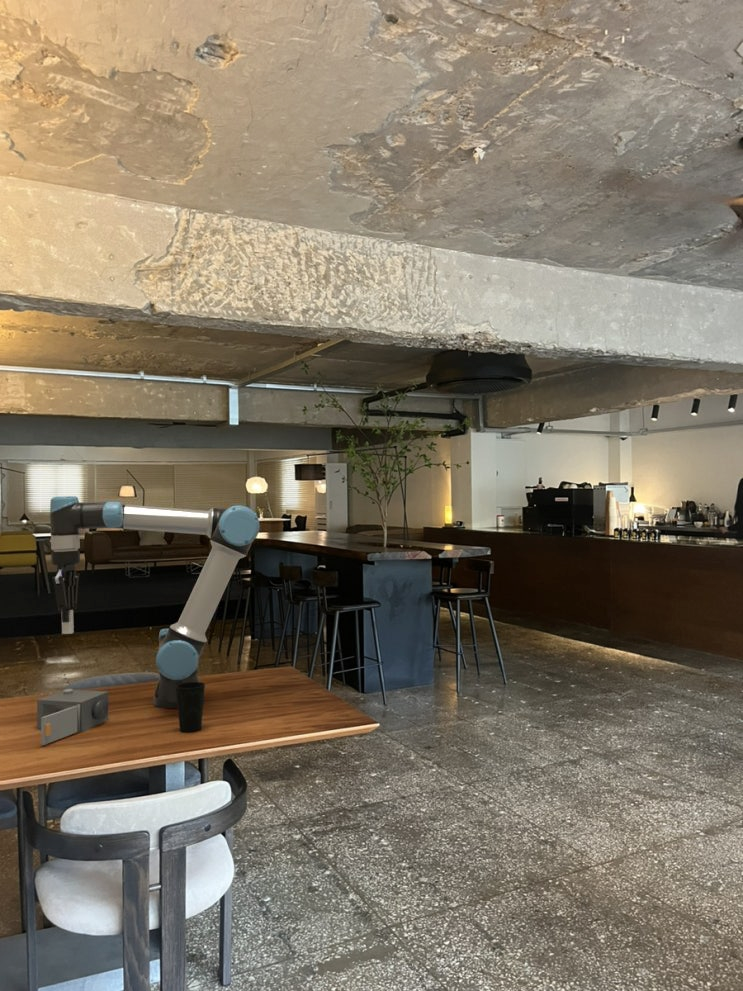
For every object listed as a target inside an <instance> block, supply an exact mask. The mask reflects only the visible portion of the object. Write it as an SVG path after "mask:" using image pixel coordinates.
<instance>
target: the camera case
mask: <svg viewBox="0 0 743 991" xmlns="http://www.w3.org/2000/svg"><path fill="white" fill-rule="evenodd" d="M36 701H37V703H36V706H37V707H36V710H37V711H36V717H37V718H36V720H37V721H36V725H37V726H36V729H37V730H41V717H44V716H47V715H50V714H53V713H56V712H59V711H62V710H65V709H68V708H71V707H74V706H77V732H76V733H83V732H85V731H88V730H91V728H94V727H96V726H98V725H101V724H102V723H105V722H107V721H109V691H104V690H103V691H101V690H100V691H99V690H85V689H83V690H80V689H73V688H65V689H62V690H61V691H58V692H54V693H52V694H49V695H47V696H43V697H42V698H39V699H36Z"/></svg>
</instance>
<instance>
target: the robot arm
mask: <svg viewBox="0 0 743 991" xmlns="http://www.w3.org/2000/svg"><path fill="white" fill-rule="evenodd" d="M49 506H50V507H49V520H50V522H49V524H50V539H49V542H50V545H51V546H50V548H51V549H50V550H52V551H51V553H50V556H51V557H50V558H51V561H50V562H51V565H53V566H57V567H56V576H52V578H51V579H52V583H53V586H54V587H53V588H54V594H55V599H56V600H55V601H56V608H57V612H61V635H71V634H74V632H75V631H74V628H75V626H74V624H75V623H74V610H77V609H78V607H77V604H78V591H79V589H78V588H79V578H80V572H77V571H76V565H78V564H80V563H81V553H80V552H81V551H80V550H78V549H80V548H81V546H80V545H81V543H80V530H81V529H82V530H85V529H121V530H135V531H148V532H149V531H150V532H165V533H179V534H189V535H190V534H193V535H203V536H205V535H206V536H207V537H208V538H209V539H210V540H209V542H210V545H211V550H210V552H209V555H208V557H207V558H206V560H205V563H204V565H203V567H202V569H201V571H200V574H199V576H198V578H197V581H196V583H195V584H194V586H193V588H192V591H191V593H190V595H189V597H188V600H187V601H186V604H185V606H184V607H183V610H182V612H181V614H180V617H179V618H178V621H177V622H175V623H173V624H171V625H170V626H169V628H161V629H160V631H159V634H158V635H159V636H158V642H159V643H158V651H157V653H156V655H155V664H156V667H157V669H158V671H159V672H158V673H159V674H158V675H159V679H158V682H157V685H156V689H155V691H154V695H153V705H154V706H156V707H158V708H165V709H166V708H167V709H178V705H177V695H176V685H178V684H181V683H186V682H201V680H200V679H199V661H200V660H199V659H200V657H201V655H202V653H203V650H204V648H205V646H206V644H207V642H208V639H207V637H206V632H207V629H208V627H209V626H210V623H211V621H212V619H213V617H214V614H215V612H216V610H217V608H218V605H219V604H220V601H221V599H222V597H223V594H224V592H225V590H226V588H227V587H228V583H230V582H229V581H230V580H231V578H232V576H233V573H234V571H235V569H236V566H237V565H238V563H239V560H240V559H243V558H245V557H247V555H248V553H249V551H250V548H251V546H252V543H253V542H254V540H255V539H256V538H257V537H258V535H259V532H260V527H261V525H260V520H259V517H258V515H257V514H256V512H255V511H254V510H253V509H251V508H250V507H249V506H245V505H237V504H236V505H234V506H230V507H223V508H222V507H221V508H219V507H218V508H217V507H211V508H210V509H209V510H199V509H189V508H176V507H175V508H174V507H164V506H163V507H162V506H161V507H160V506H149V505H136V504H135V505H134V504H122V503H121V502H120V501H99V502H98V501H97V502H80V501H79V498H78V497H77V496H76V495H74V496H73V495H72V496H71V495H68V496H67V495H63V496H62V495H61V496H53V497H52V498H51V499H50V505H49Z"/></svg>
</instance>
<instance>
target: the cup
mask: <svg viewBox="0 0 743 991" xmlns="http://www.w3.org/2000/svg"><path fill="white" fill-rule="evenodd" d="M205 684H206V683H204V682H201V681H200V682H186V683H181V684H178V685H176V695H177V705H178V708H177V713H178V723H179V732H181V733H186V734H190V733H191V734H192V733H197V732H199V731H201V730H202V722H203V714H204V713H203V712H204V711H203V709H204V701H205V688H206V685H205Z"/></svg>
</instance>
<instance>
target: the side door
mask: <svg viewBox="0 0 743 991" xmlns="http://www.w3.org/2000/svg"><path fill="white" fill-rule="evenodd" d="M40 732H41V734H40V736H41V737H40V738H41V739H40V740H41V742H40V743H41V744H40V745H41V746H45V745H47V744H49V743H53V742H55V741H57V740H60V739H62V738H65V737H68V736H71V735H72V734H75V733H78V732H77V706H74V707H71V708H68V709H65V710H62V711H59V712H56V713H53V714H50V715H47V716H44V717H41V729H40Z"/></svg>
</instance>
